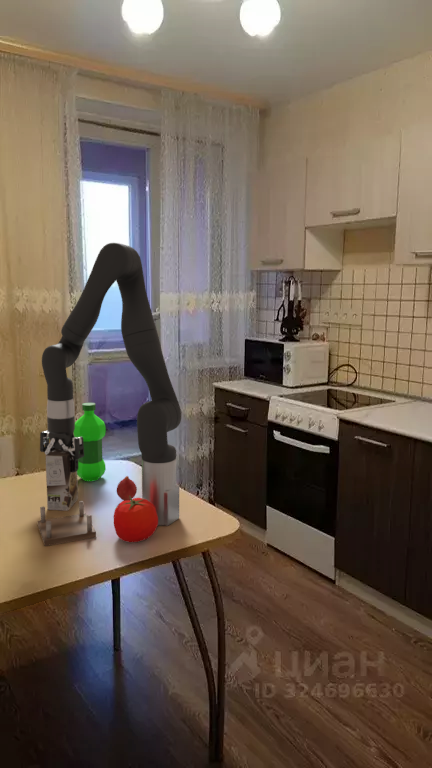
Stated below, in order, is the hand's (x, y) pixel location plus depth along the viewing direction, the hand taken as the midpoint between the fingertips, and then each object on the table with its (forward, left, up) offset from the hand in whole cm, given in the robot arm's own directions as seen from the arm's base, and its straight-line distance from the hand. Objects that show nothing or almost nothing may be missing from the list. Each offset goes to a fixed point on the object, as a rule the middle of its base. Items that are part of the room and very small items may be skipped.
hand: (62, 469), depth 165 cm
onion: (-15, -10, -11) cm, 21 cm away
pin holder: (-13, +14, -11) cm, 22 cm away
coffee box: (0, 0, -11) cm, 11 cm away
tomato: (-31, +9, -11) cm, 34 cm away
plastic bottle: (+7, -21, -11) cm, 24 cm away
